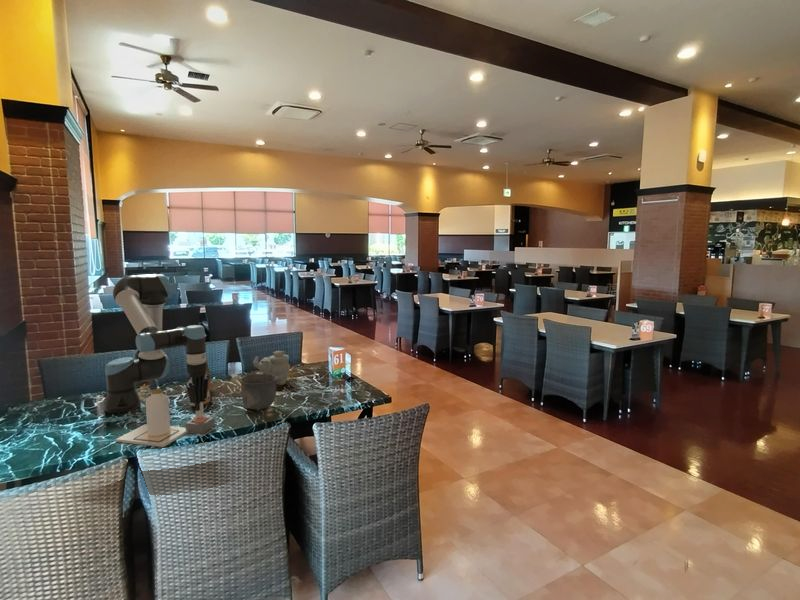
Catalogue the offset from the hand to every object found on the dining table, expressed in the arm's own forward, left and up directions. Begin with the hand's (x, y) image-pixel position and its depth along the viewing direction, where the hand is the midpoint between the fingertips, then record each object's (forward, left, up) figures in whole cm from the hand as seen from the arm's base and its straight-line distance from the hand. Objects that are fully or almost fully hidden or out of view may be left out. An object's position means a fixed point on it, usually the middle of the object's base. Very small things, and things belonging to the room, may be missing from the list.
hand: (199, 417), depth 190 cm
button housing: (0, 0, -6) cm, 6 cm away
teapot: (-2, +65, -6) cm, 65 cm away
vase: (-33, +44, -6) cm, 55 cm away
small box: (-20, +27, -6) cm, 34 cm away
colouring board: (-14, -10, -6) cm, 18 cm away
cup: (+12, +28, -6) cm, 31 cm away
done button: (0, 0, -4) cm, 4 cm away
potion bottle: (-12, -9, -5) cm, 16 cm away
